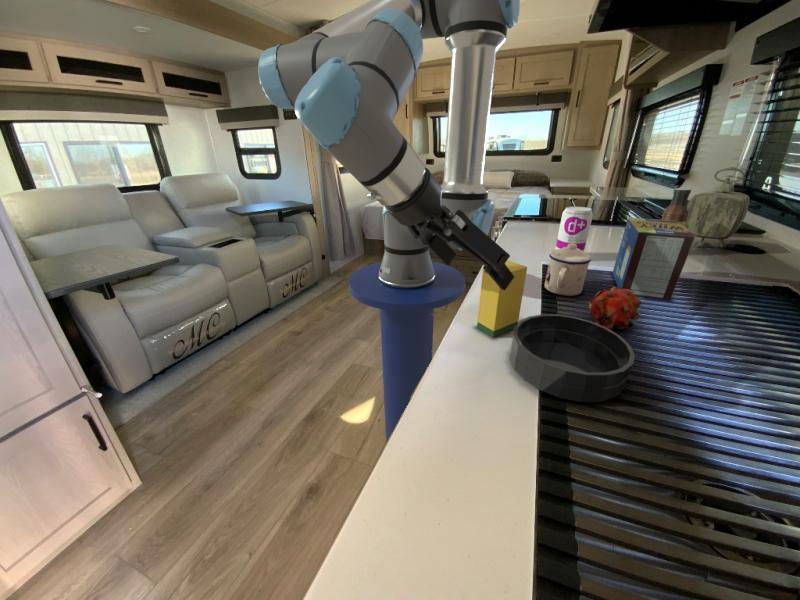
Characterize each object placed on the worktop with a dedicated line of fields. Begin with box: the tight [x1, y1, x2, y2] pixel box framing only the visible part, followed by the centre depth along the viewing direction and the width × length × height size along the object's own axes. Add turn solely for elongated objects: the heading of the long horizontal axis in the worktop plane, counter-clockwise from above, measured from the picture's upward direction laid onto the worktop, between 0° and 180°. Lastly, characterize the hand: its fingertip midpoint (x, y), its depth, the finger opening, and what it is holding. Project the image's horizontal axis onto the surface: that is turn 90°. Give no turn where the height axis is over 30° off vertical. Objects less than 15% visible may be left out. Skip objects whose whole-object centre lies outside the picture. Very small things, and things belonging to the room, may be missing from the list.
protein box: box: [612, 217, 696, 301], centre depth 81 cm, size 10×15×16 cm
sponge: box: [476, 260, 528, 338], centre depth 64 cm, size 4×7×13 cm, turn 123°
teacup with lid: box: [544, 243, 592, 297], centre depth 80 cm, size 12×9×12 cm
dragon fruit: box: [588, 286, 643, 331], centre depth 66 cm, size 8×8×12 cm
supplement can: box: [554, 206, 594, 252], centre depth 102 cm, size 8×8×15 cm
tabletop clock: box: [685, 167, 751, 249], centre depth 108 cm, size 14×9×25 cm, turn 40°
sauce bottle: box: [660, 187, 692, 227], centre depth 104 cm, size 6×6×20 cm
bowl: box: [509, 313, 636, 403], centre depth 54 cm, size 17×17×6 cm
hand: (477, 270), depth 57 cm, fingers open, 13 cm apart
